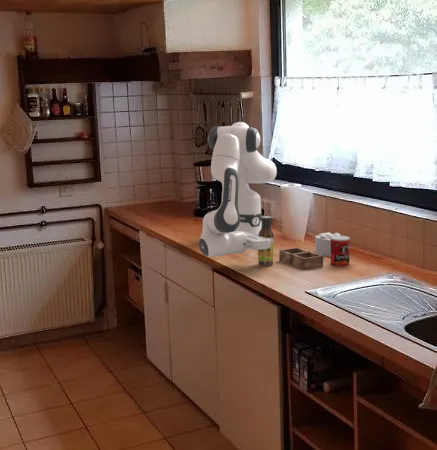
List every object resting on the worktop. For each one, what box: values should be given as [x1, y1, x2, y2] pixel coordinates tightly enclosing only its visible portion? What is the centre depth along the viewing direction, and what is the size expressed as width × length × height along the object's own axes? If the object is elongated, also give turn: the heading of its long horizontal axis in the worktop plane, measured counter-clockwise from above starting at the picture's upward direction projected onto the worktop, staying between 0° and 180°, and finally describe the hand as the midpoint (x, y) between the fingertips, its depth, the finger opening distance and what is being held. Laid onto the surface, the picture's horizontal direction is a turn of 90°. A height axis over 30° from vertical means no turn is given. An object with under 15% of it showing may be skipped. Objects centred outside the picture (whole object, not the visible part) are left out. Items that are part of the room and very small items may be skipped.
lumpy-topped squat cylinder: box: [314, 231, 342, 257], centre depth 309 cm, size 10×13×9 cm
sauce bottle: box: [257, 215, 275, 267], centre depth 291 cm, size 6×6×20 cm
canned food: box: [330, 235, 351, 267], centre depth 290 cm, size 8×8×11 cm
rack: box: [278, 247, 324, 271], centre depth 293 cm, size 18×9×4 cm, turn 28°
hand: (267, 238), depth 291 cm, fingers closed on sauce bottle, 6 cm apart
